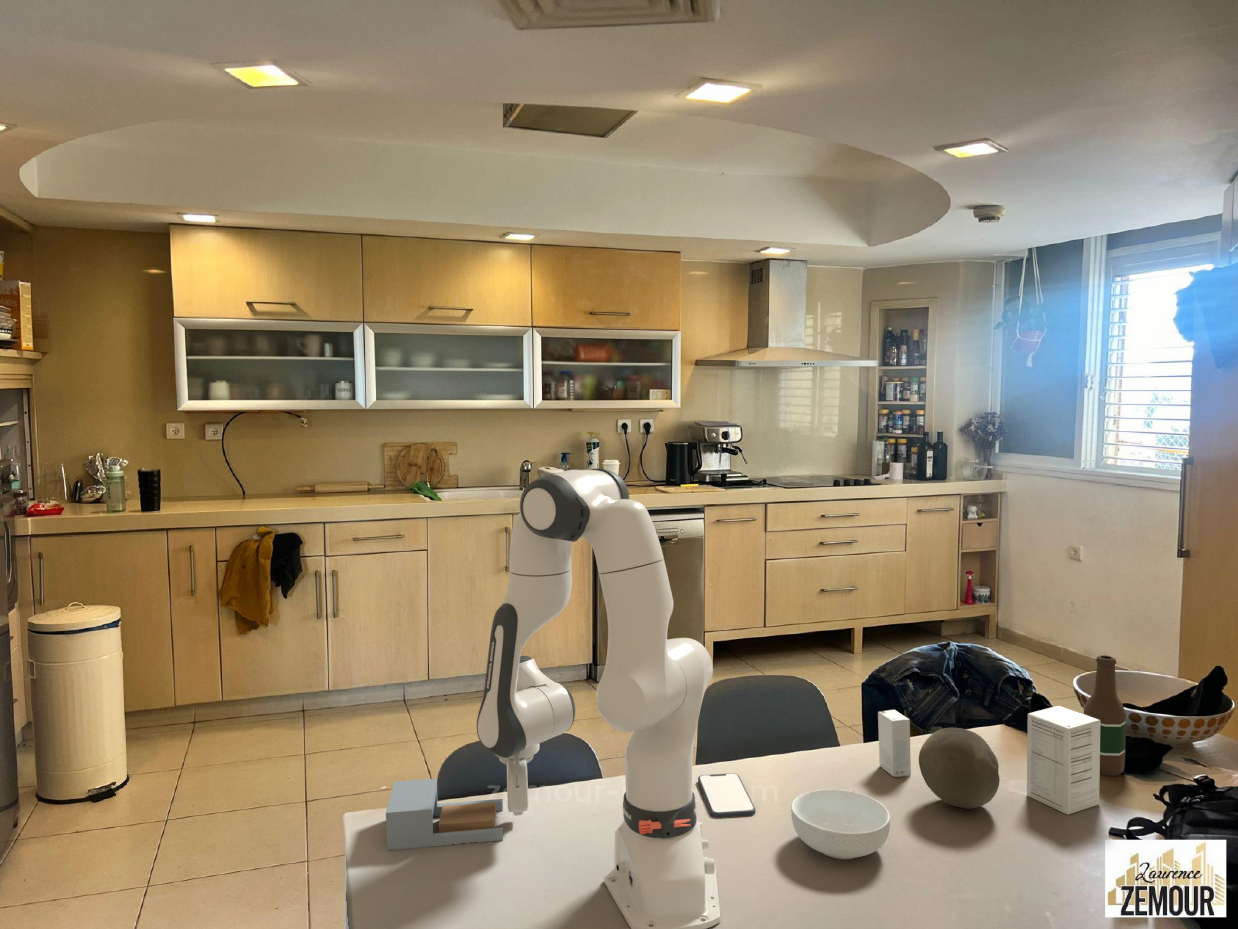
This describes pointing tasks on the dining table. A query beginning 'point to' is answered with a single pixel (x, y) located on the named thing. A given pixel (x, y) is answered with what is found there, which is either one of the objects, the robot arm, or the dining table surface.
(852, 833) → the cereal bowl
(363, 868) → the dining table surface
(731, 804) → the smartphone
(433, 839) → the grey u-shaped frame
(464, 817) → the tan cardboard slab
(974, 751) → the cantaloupe
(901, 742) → the skincare box
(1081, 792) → the supplement box
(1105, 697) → the beer bottle
